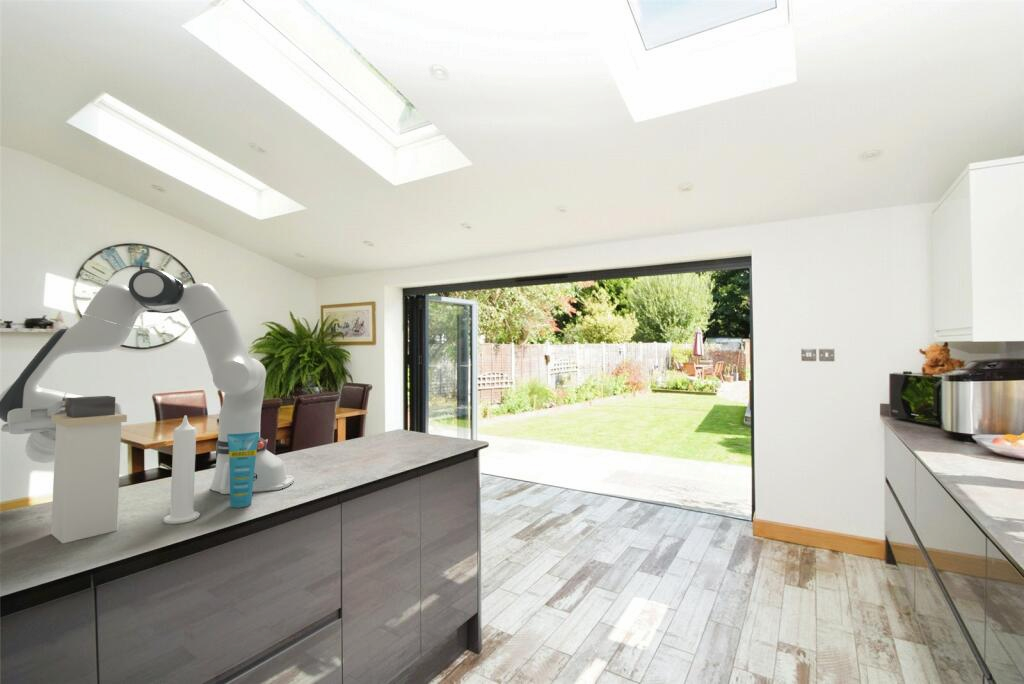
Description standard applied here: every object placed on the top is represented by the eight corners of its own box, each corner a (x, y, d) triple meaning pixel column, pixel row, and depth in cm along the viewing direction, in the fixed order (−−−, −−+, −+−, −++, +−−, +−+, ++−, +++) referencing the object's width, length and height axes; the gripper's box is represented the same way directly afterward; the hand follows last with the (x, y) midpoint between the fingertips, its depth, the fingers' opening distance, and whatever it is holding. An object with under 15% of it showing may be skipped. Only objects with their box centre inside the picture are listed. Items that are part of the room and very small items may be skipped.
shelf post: (46, 532, 103) (51, 414, 103) (104, 520, 111) (109, 410, 112) (61, 545, 96) (66, 419, 97) (122, 531, 104) (126, 415, 105)
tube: (224, 510, 119) (227, 435, 120) (224, 505, 123) (226, 432, 124) (257, 505, 123) (260, 432, 124) (256, 500, 127) (258, 430, 128)
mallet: (89, 408, 115) (90, 392, 115) (114, 414, 105) (115, 397, 105) (50, 411, 109) (51, 394, 109) (73, 417, 99) (74, 399, 99)
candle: (195, 512, 117) (199, 412, 118) (202, 519, 112) (205, 415, 113) (161, 518, 112) (165, 415, 113) (166, 526, 107) (170, 418, 108)
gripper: (-2, 420, 109) (11, 393, 103) (109, 412, 126) (126, 389, 120) (0, 445, 107) (12, 419, 101) (112, 433, 124) (130, 411, 118)
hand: (75, 403), depth 110 cm, fingers closed on mallet, 3 cm apart
